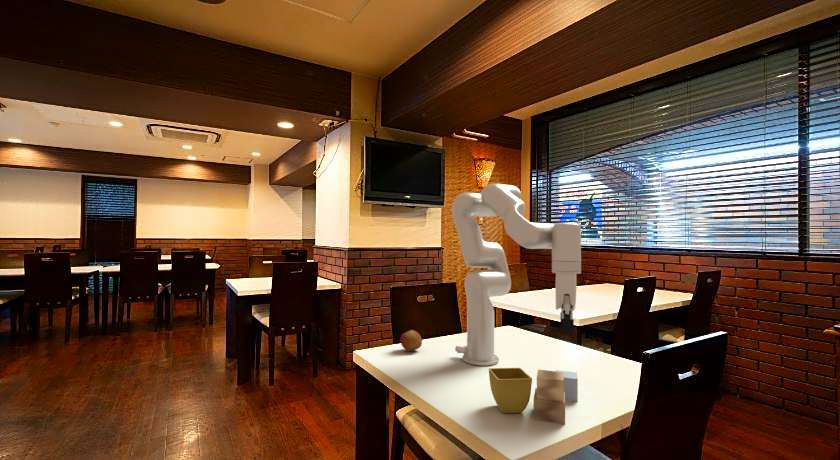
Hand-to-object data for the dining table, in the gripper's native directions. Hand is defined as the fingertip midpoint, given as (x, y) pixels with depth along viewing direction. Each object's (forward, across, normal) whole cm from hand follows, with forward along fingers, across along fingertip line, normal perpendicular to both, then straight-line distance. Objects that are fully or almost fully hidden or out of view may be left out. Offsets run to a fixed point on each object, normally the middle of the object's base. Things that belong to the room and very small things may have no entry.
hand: (566, 330), depth 106 cm
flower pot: (+18, +14, -14) cm, 27 cm away
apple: (+18, -25, -55) cm, 63 cm away
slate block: (+18, 0, 0) cm, 18 cm away
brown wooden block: (+18, +14, -4) cm, 23 cm away
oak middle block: (+13, +14, -4) cm, 20 cm away
